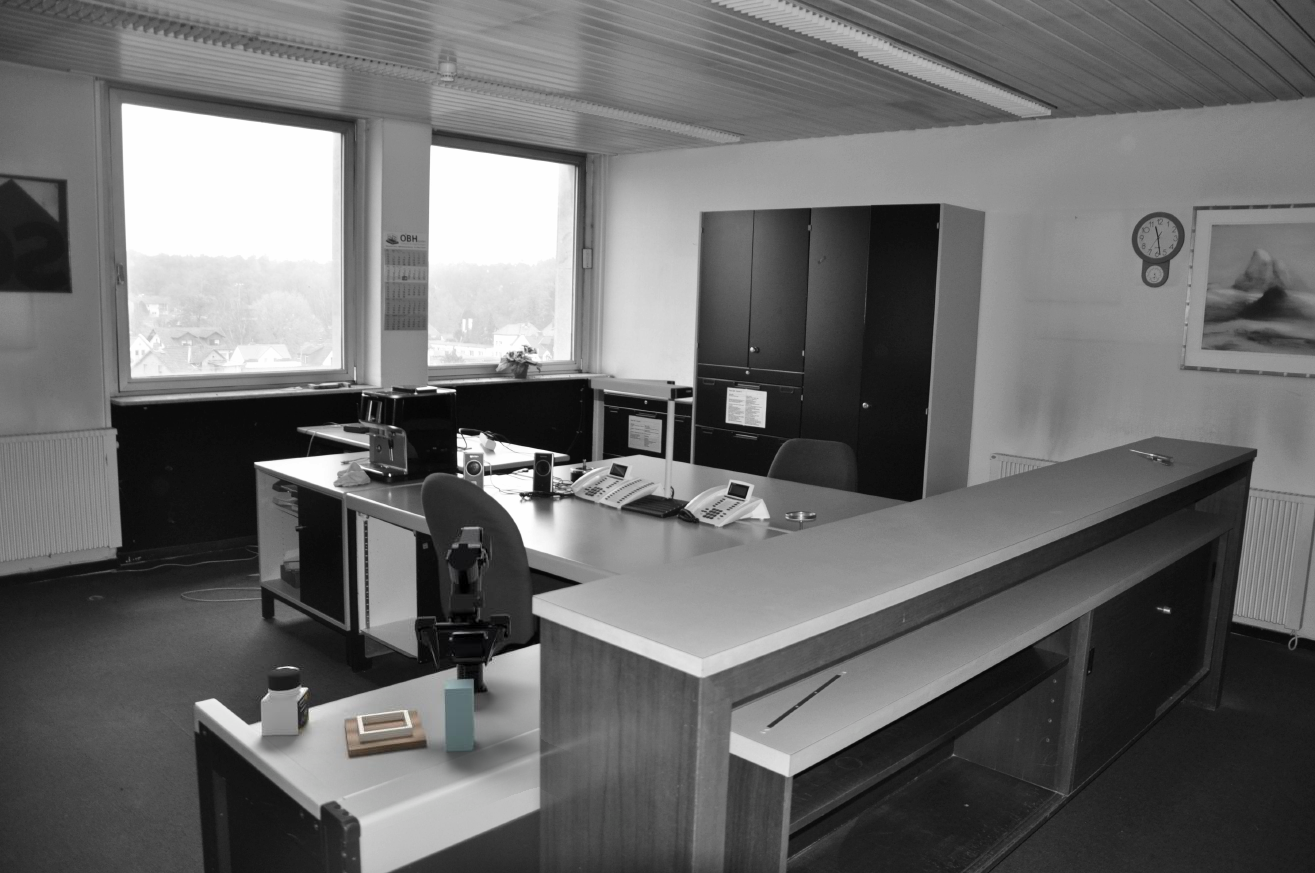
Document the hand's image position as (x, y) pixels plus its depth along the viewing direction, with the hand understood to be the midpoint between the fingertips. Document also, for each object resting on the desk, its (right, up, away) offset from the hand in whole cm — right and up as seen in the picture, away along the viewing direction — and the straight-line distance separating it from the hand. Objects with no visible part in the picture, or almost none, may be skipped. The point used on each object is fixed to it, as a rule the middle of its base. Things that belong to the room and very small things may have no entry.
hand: (461, 666), depth 187 cm
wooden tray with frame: (-15, -13, -1) cm, 20 cm away
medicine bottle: (-35, -13, +2) cm, 37 cm away
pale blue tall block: (+1, -14, -6) cm, 15 cm away
